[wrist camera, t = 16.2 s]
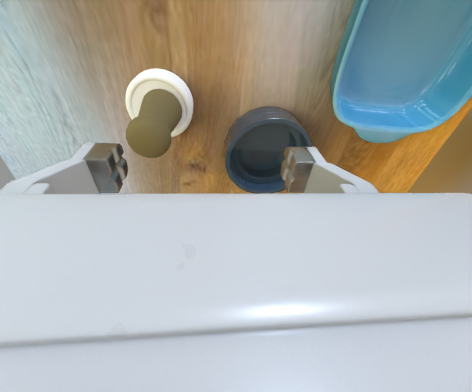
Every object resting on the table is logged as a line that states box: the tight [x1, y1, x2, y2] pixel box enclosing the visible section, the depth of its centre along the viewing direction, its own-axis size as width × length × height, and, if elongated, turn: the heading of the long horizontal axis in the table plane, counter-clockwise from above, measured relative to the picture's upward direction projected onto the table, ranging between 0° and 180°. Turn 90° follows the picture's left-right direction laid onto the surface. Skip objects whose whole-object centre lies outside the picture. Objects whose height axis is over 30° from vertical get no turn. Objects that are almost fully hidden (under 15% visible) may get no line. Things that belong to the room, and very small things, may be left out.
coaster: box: [126, 69, 194, 137], centre depth 36 cm, size 10×10×4 cm
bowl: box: [225, 107, 312, 194], centre depth 42 cm, size 15×15×6 cm
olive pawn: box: [126, 89, 182, 158], centre depth 31 cm, size 6×6×11 cm
